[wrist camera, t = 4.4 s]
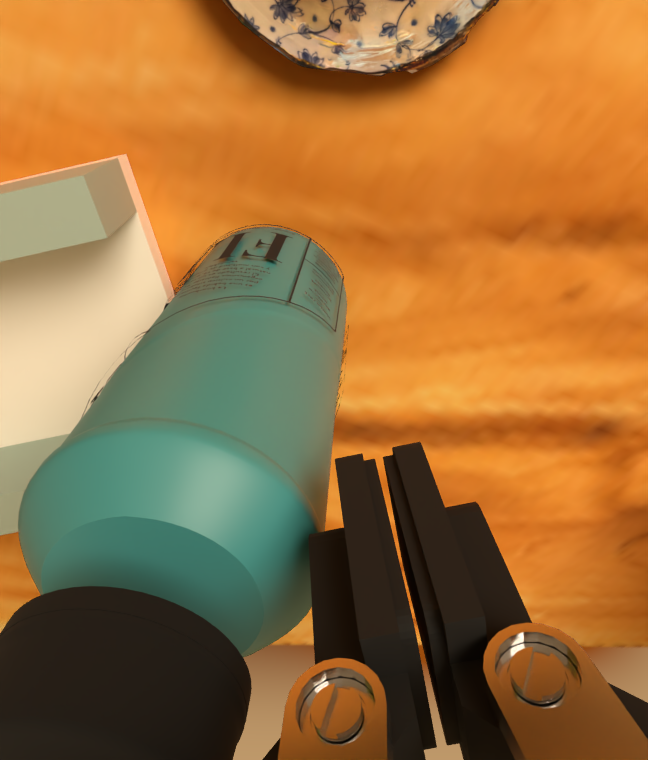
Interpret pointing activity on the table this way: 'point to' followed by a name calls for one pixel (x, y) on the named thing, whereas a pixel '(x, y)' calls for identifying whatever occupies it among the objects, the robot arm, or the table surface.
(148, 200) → the table surface
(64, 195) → the cradle
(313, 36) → the burger
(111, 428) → the beverage bottle
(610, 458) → the table surface
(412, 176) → the table surface
